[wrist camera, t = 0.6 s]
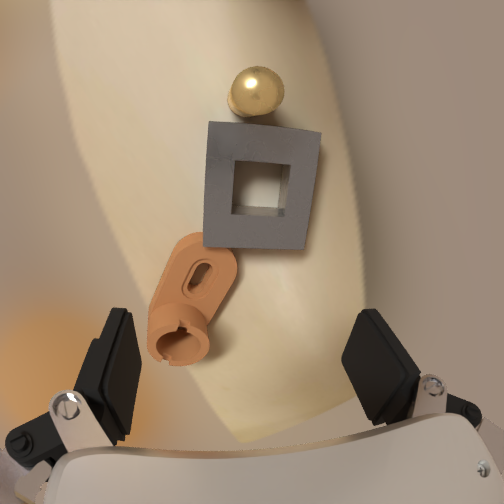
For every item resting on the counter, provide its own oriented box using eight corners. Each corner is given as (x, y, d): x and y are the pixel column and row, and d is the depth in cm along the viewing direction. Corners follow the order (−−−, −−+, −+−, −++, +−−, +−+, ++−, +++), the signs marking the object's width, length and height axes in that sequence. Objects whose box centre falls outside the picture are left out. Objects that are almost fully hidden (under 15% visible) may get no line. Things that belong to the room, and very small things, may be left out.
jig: (209, 121, 30) (208, 121, 26) (311, 131, 31) (321, 132, 28) (203, 235, 36) (202, 246, 32) (296, 238, 37) (303, 249, 34)
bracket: (191, 337, 44) (195, 370, 38) (142, 324, 40) (140, 358, 34) (244, 244, 38) (257, 273, 32) (186, 222, 34) (188, 248, 29)
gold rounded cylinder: (229, 79, 28) (234, 63, 20) (267, 83, 28) (286, 70, 20) (225, 115, 30) (229, 112, 22) (264, 118, 30) (281, 117, 22)
